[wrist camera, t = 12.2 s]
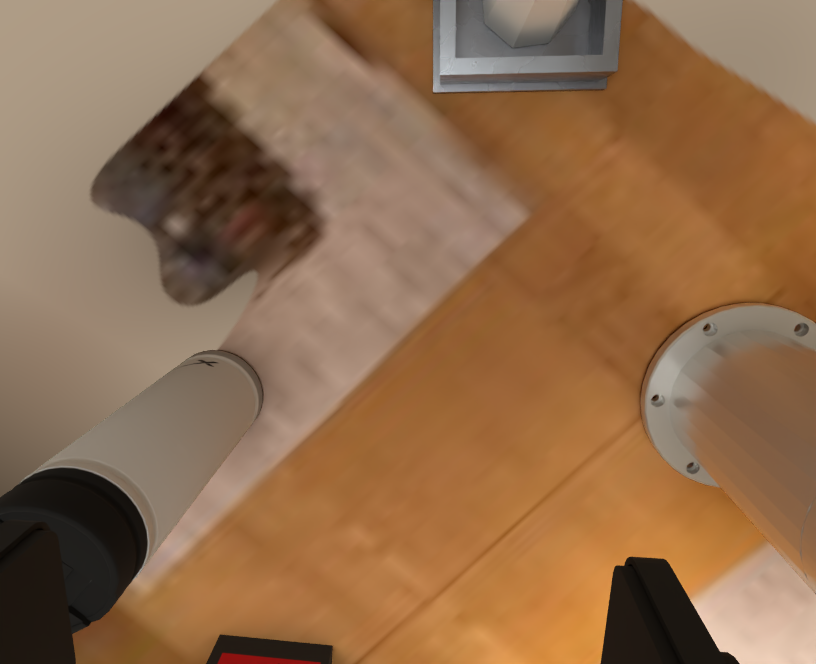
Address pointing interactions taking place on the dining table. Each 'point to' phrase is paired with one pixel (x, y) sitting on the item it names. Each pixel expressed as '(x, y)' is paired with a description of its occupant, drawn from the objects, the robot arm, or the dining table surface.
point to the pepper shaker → (527, 19)
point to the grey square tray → (524, 51)
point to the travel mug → (136, 476)
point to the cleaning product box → (267, 652)
